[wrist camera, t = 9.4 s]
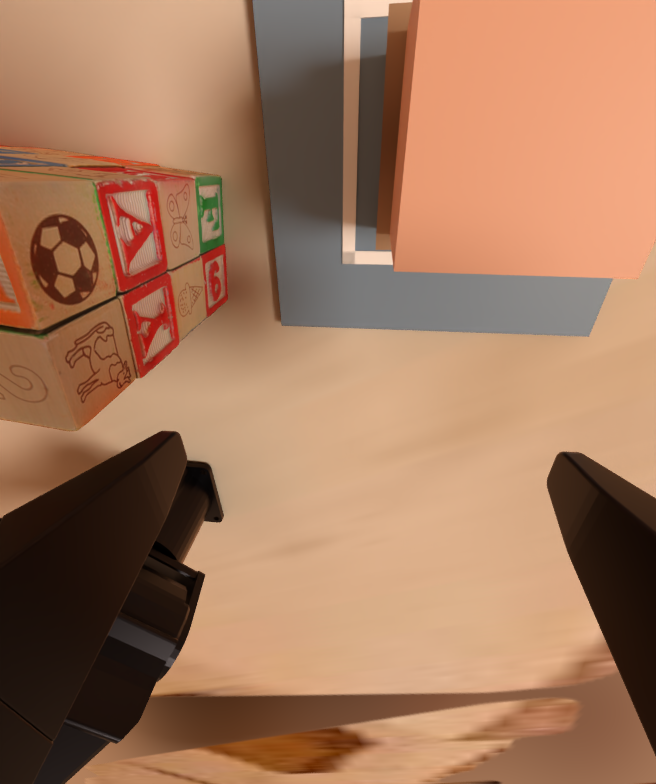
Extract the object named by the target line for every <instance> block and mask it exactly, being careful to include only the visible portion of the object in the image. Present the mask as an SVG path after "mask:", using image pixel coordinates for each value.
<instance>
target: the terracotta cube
mask: <svg viewBox="0 0 656 784" xmlns="http://www.w3.org/2000/svg"><path fill="white" fill-rule="evenodd" d="M655 241H656V0H413V2H412V7H411V13H410V18H409V23H408V29H407V38H406V50H405V61H404V73H403V85H402V96H401V108H400V119H399V131H398V143H397V154H396V166H395V177H394V189H393V200H392V212H391V224H390V243H391V251H392V260H393V269H394V272H426V273H458V274H491V275H523V276H555V277H588V278H620V279H638V277H639V275H640V273H641V271H642V269H643V266H644V264H645V262H646V260H647V258H648V256H649V254H650V251H651V249H652V247H653V245H654V243H655Z"/></svg>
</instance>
